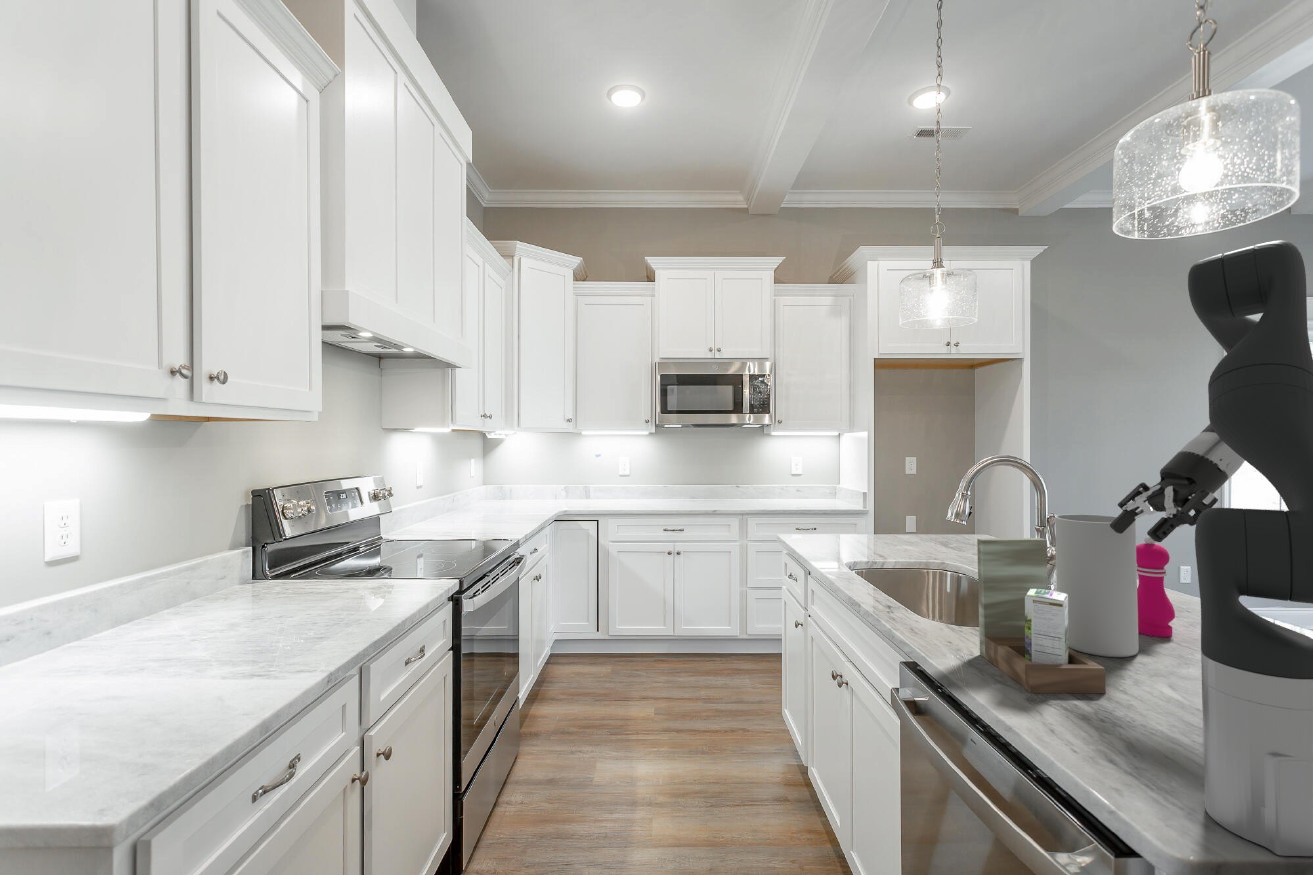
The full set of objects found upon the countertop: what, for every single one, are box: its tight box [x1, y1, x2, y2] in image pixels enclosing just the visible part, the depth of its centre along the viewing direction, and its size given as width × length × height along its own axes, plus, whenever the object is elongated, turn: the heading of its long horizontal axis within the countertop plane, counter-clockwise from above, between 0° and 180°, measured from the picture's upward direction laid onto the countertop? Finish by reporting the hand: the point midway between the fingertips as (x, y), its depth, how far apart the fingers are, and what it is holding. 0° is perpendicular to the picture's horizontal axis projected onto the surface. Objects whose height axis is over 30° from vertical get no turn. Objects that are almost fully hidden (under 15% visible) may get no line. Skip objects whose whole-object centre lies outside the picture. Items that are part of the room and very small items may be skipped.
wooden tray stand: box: [976, 537, 1107, 694], centre depth 101 cm, size 17×12×22 cm
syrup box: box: [1025, 589, 1069, 664], centre depth 99 cm, size 6×6×14 cm
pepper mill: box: [1136, 535, 1176, 638], centre depth 120 cm, size 7×7×20 cm
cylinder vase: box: [1054, 513, 1140, 658], centre depth 113 cm, size 12×12×25 cm
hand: (1132, 534), depth 98 cm, fingers open, 8 cm apart
